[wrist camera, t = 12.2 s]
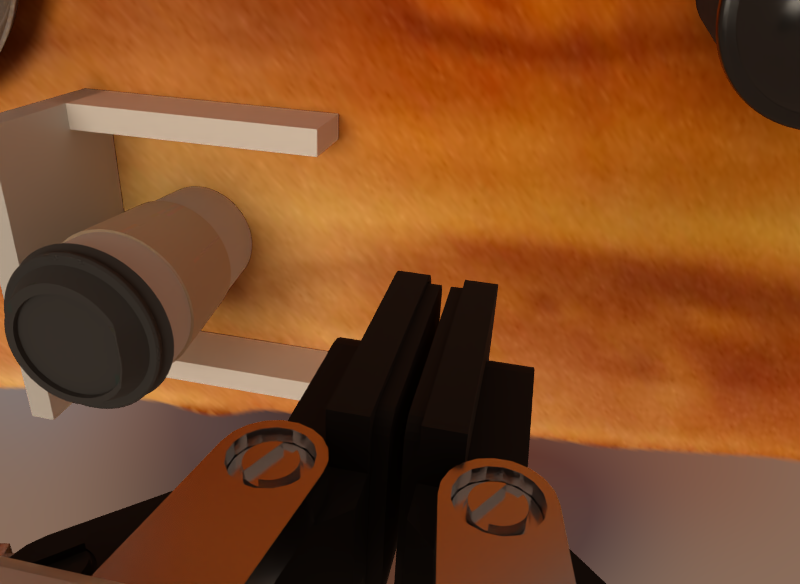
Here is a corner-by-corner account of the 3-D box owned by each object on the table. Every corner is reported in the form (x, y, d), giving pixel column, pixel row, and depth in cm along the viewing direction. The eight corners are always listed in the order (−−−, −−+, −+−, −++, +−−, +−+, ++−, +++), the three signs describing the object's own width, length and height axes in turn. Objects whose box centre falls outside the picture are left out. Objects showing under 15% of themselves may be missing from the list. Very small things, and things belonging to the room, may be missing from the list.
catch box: (338, 113, 40) (275, 159, 31) (336, 370, 48) (286, 463, 40) (84, 88, 43) (-39, 123, 34) (123, 335, 51) (32, 415, 42)
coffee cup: (146, 283, 48) (-9, 407, 35) (137, 159, 44) (-43, 248, 31) (267, 307, 47) (153, 445, 34) (269, 182, 43) (139, 284, 30)
